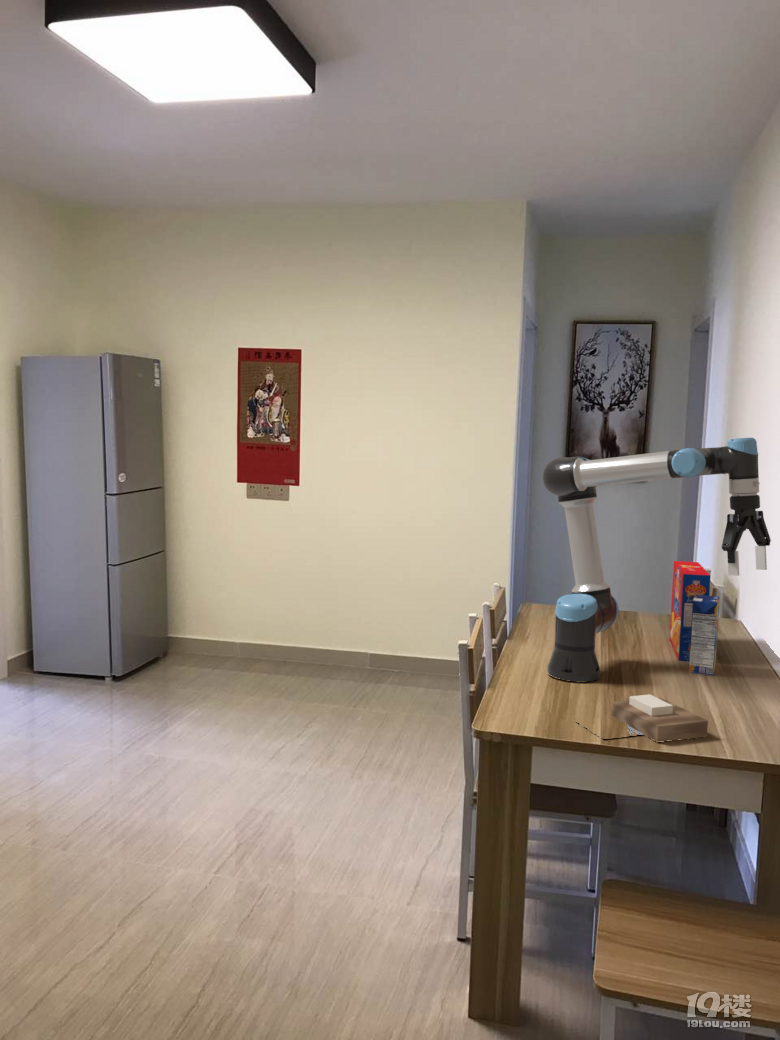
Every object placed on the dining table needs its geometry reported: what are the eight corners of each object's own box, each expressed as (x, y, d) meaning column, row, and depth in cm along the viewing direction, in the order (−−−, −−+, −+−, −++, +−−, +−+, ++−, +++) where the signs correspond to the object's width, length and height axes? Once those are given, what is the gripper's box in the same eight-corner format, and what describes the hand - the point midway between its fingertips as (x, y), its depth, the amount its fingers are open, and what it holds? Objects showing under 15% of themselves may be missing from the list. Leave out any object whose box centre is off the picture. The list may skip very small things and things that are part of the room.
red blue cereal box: (669, 639, 290) (673, 561, 287) (693, 641, 288) (698, 562, 285) (678, 661, 263) (683, 574, 260) (705, 663, 261) (710, 575, 258)
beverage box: (688, 672, 250) (692, 600, 248) (691, 663, 260) (695, 594, 258) (713, 675, 247) (717, 603, 245) (715, 666, 257) (719, 596, 255)
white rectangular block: (629, 704, 207) (629, 696, 207) (649, 702, 209) (649, 694, 208) (651, 716, 198) (652, 707, 198) (672, 713, 200) (673, 705, 200)
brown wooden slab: (612, 717, 209) (613, 702, 208) (659, 712, 213) (660, 697, 213) (657, 743, 192) (658, 726, 191) (706, 737, 196) (707, 720, 196)
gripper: (731, 497, 215) (734, 578, 216) (782, 491, 230) (785, 567, 231) (705, 497, 221) (709, 576, 222) (756, 492, 236) (759, 566, 237)
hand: (747, 572), depth 226 cm, fingers open, 13 cm apart
